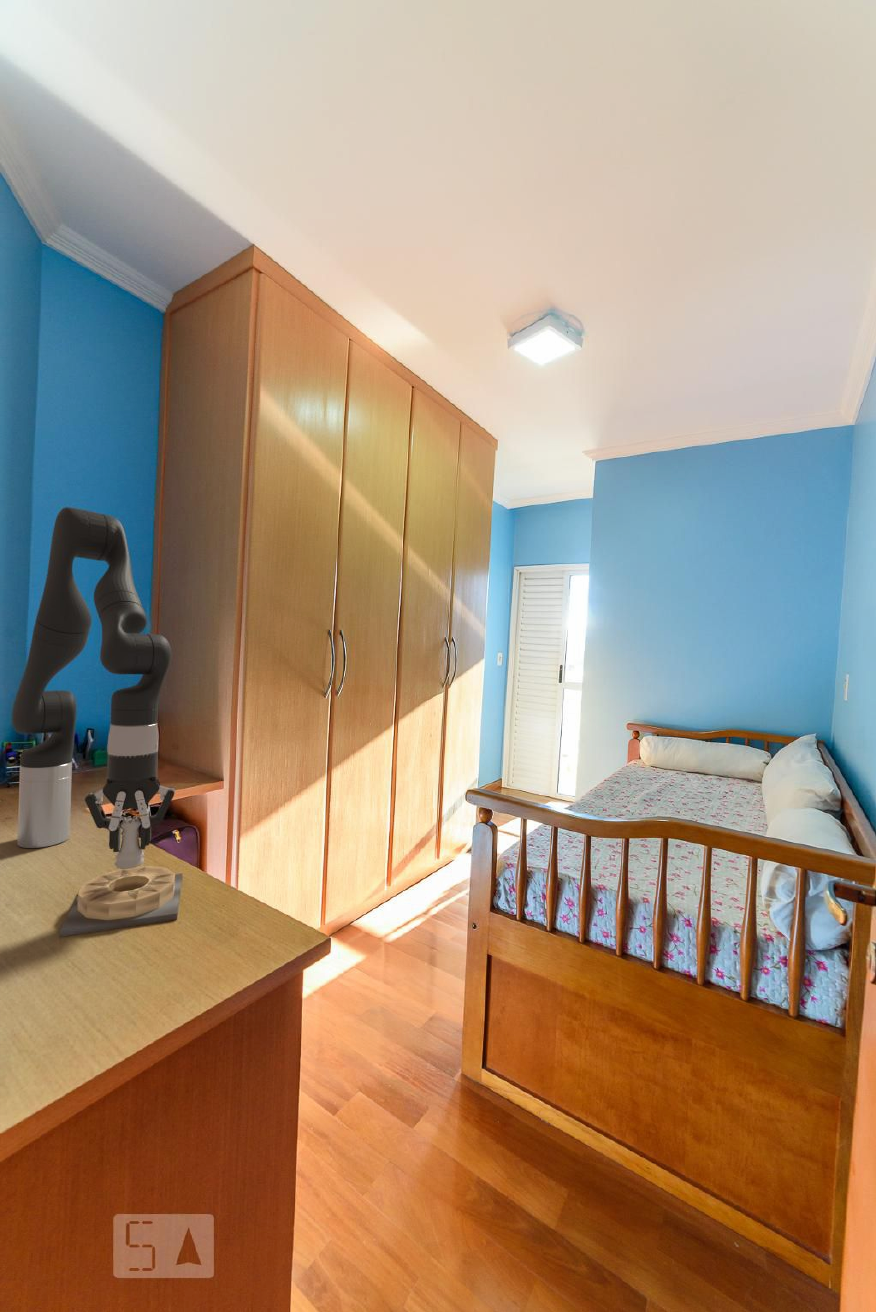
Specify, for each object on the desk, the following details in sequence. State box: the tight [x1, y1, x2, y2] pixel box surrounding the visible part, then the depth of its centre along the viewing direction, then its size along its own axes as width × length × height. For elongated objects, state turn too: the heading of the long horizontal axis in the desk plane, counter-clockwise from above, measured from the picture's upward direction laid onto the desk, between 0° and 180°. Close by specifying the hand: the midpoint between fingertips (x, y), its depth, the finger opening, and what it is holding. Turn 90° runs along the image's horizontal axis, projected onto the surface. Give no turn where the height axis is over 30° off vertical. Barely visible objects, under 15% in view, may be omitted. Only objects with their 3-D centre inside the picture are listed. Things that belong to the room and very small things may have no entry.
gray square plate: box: [59, 865, 183, 938], centre depth 90 cm, size 16×16×4 cm
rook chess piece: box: [114, 815, 145, 870], centre depth 90 cm, size 4×4×8 cm
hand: (129, 848), depth 90 cm, fingers closed on rook chess piece, 3 cm apart
